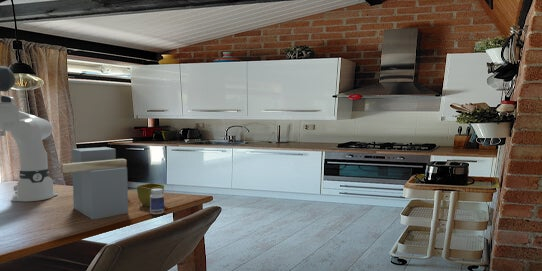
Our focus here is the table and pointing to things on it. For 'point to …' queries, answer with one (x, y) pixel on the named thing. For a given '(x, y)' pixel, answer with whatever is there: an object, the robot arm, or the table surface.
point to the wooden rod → (93, 165)
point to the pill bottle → (156, 201)
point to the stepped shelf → (99, 185)
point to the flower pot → (147, 192)
